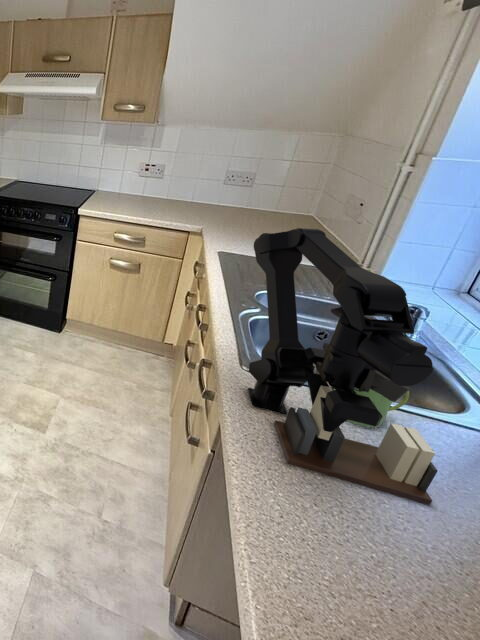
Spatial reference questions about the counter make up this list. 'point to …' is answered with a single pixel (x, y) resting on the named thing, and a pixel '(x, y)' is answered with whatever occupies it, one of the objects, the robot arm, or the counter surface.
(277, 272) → the robot arm
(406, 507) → the counter surface
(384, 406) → the mug
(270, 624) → the counter surface
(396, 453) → the cream book
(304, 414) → the grey book
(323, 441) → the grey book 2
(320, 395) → the cream book
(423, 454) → the cream book
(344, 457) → the book rack
